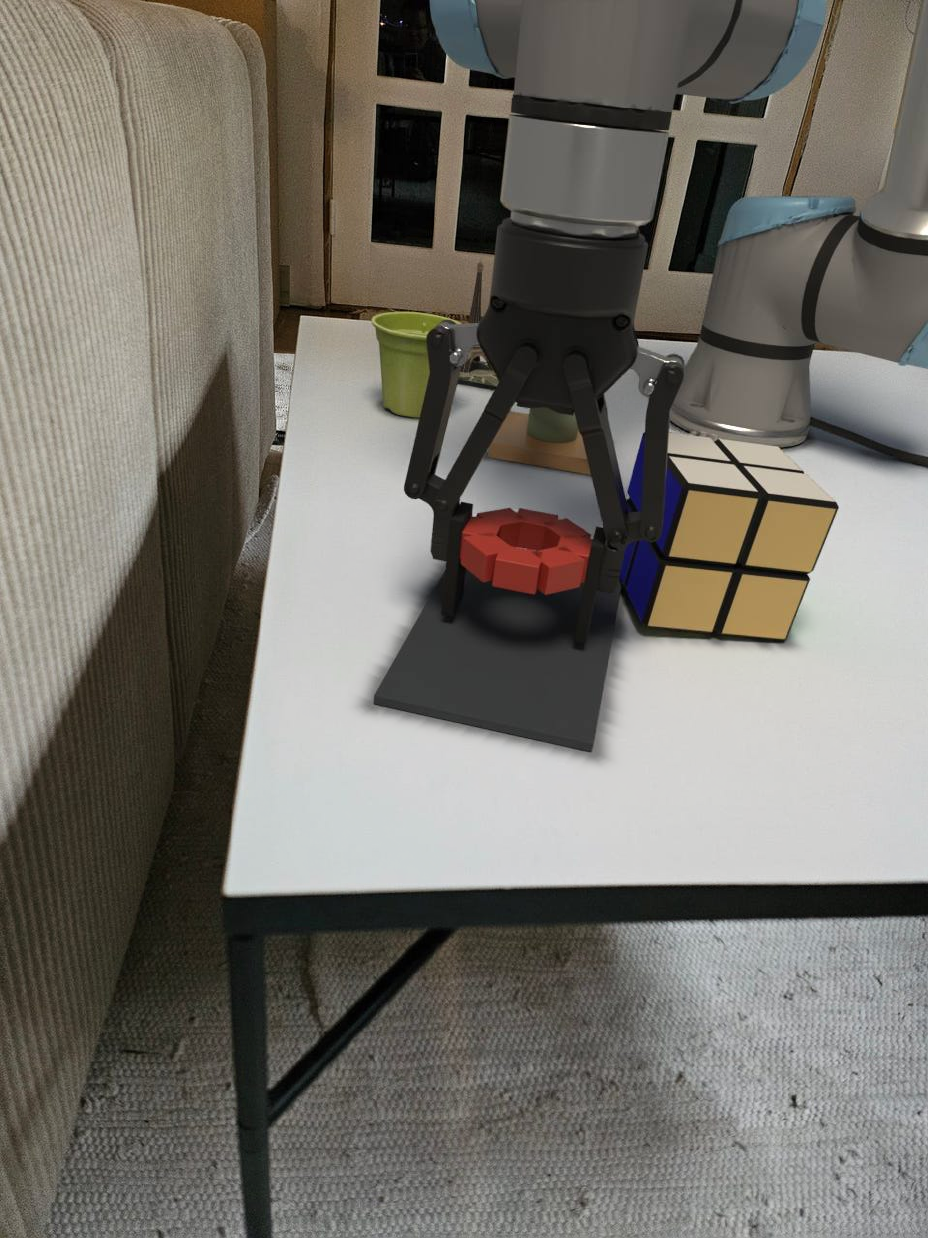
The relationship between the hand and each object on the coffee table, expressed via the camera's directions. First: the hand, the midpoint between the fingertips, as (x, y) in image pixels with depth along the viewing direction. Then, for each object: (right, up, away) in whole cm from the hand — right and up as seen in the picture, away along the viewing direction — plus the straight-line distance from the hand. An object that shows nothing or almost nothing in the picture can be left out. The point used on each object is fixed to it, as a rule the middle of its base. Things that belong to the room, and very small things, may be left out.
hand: (516, 618), depth 56 cm
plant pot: (-9, +21, +37) cm, 44 cm away
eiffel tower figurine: (-3, +29, +51) cm, 58 cm away
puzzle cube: (+13, +1, +7) cm, 14 cm away
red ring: (0, +3, -2) cm, 4 cm away
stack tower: (+5, +16, +31) cm, 35 cm away
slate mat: (0, -1, +1) cm, 1 cm away
